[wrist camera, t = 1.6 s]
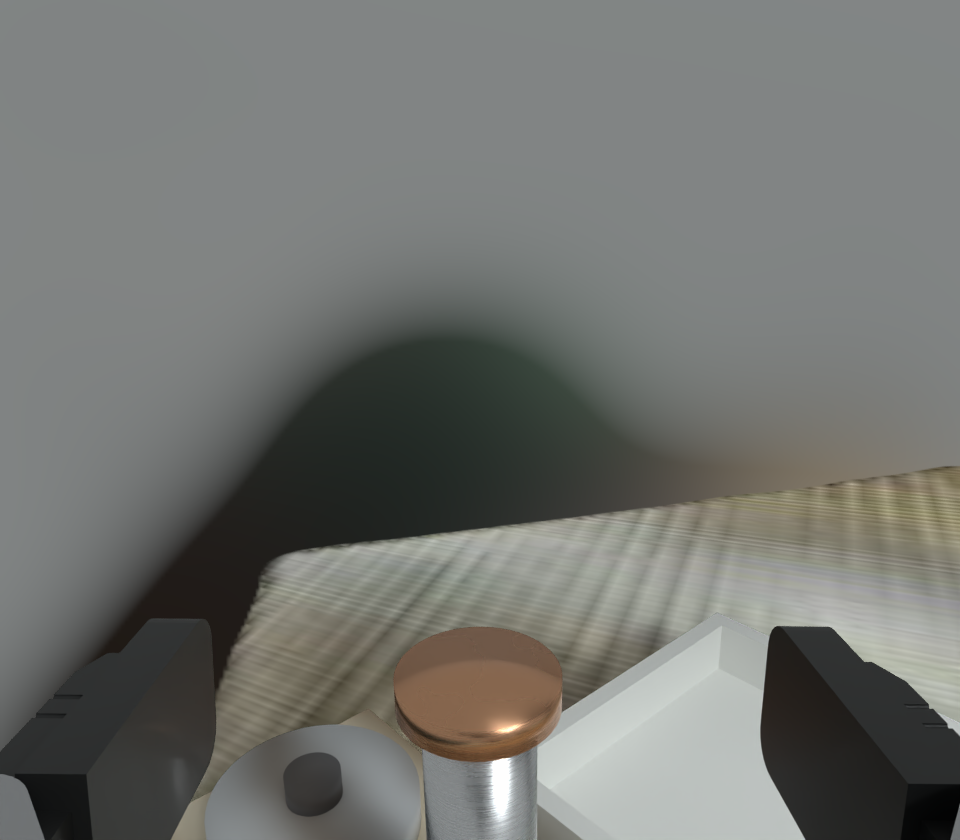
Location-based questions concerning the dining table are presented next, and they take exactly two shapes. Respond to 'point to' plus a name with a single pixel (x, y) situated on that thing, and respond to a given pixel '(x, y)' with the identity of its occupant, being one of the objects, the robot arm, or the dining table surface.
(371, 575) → the dining table surface
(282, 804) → the wooden peg base
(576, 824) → the tray
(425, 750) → the lock pin
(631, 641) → the dining table surface
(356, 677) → the dining table surface
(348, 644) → the dining table surface
